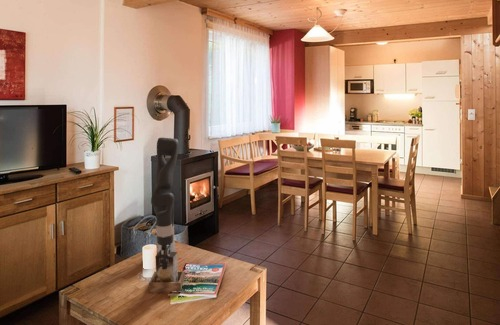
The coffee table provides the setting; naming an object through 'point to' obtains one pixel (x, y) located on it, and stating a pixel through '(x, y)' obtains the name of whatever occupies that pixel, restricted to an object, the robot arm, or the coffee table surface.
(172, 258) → the coffee box
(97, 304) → the coffee table surface
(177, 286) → the walnut box
